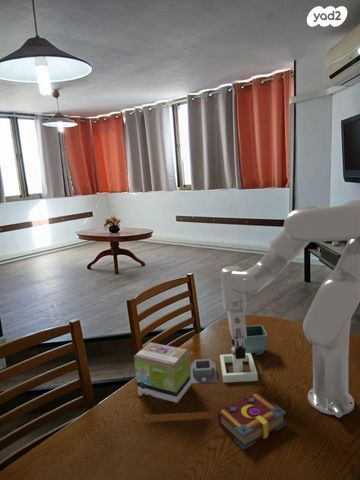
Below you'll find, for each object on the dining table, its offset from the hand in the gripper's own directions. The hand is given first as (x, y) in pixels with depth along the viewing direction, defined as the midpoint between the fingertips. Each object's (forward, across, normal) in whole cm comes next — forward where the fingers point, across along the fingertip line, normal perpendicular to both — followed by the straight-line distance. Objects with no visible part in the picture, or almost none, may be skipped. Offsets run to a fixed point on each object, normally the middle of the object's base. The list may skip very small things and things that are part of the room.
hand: (238, 351), depth 120 cm
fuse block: (+9, 0, +13) cm, 15 cm away
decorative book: (+10, -24, 0) cm, 26 cm away
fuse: (+8, 0, +1) cm, 8 cm away
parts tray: (+9, 0, +1) cm, 9 cm away
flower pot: (+9, +14, -7) cm, 19 cm away
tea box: (+9, -8, +26) cm, 28 cm away
